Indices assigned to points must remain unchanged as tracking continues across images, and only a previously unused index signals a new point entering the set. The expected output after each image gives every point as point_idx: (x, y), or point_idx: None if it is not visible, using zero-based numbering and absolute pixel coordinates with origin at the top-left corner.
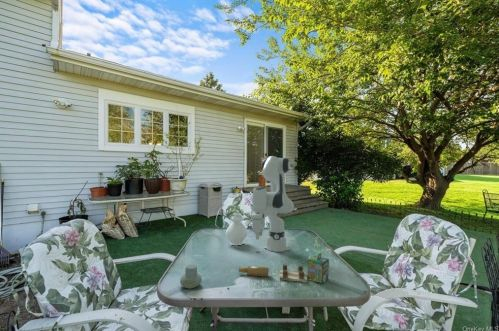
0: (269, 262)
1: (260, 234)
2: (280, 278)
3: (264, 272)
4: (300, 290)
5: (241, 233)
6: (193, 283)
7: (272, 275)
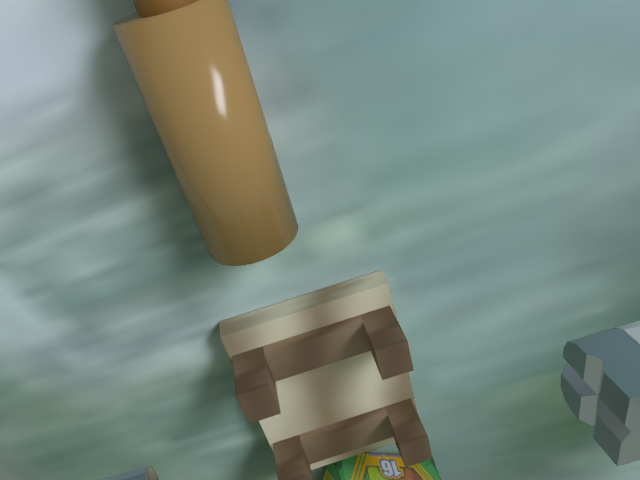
0: (605, 96)
1: (592, 398)
2: (221, 338)
3: (197, 224)
4: None
5: None
6: None
7: None
